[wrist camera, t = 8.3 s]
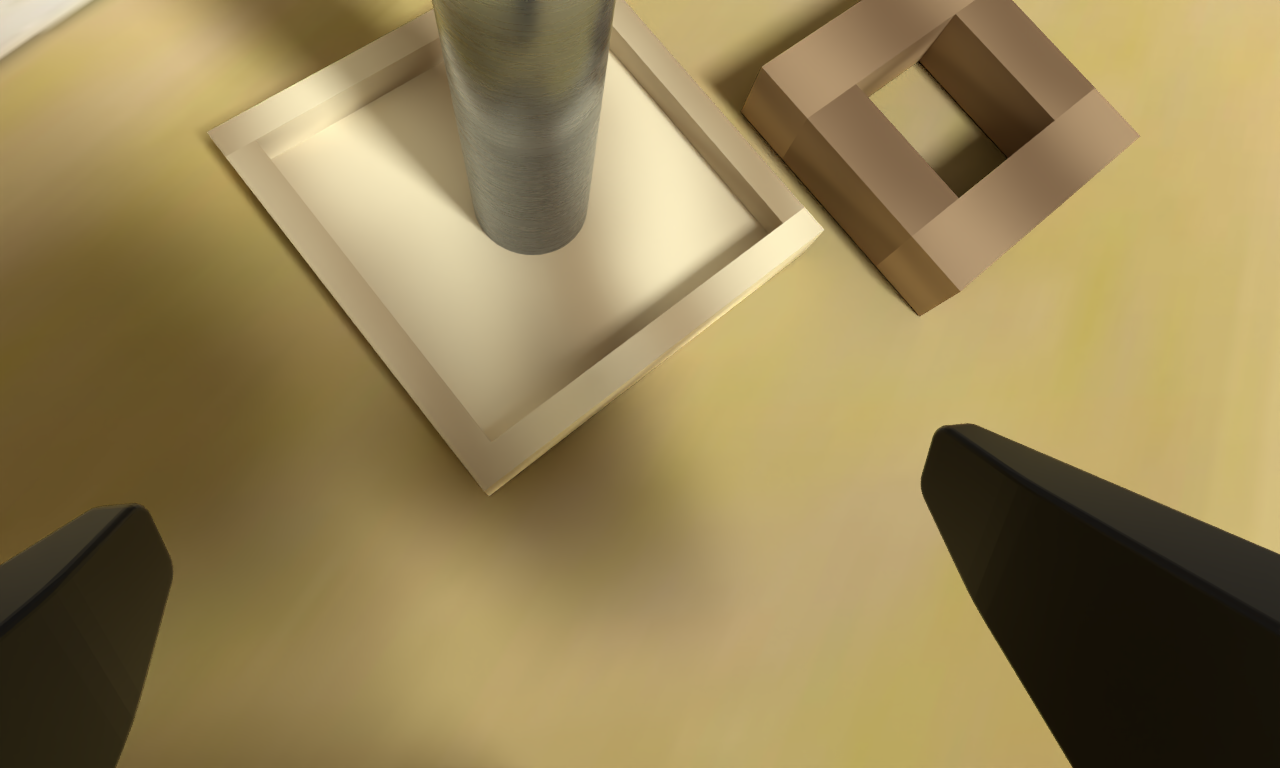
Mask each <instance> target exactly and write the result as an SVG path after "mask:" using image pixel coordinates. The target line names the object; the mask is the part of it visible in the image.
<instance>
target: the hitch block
mask: <svg viewBox="0 0 1280 768" xmlns="http://www.w3.org/2000/svg"><path fill="white" fill-rule="evenodd" d="M918 61H920V62H921V63H922V65H923V66H924V67H925V68H926V69H927V70H928V71H929V72H930V73H931V74H932V75H933V77H934V78H935V79H936V80H937V81H938V82H939V83H940V84H941V85H942V86H943V88H944V89H945V90H946V91H947V92H948V93H949V94H950V95H951V96H952V97H953V98H954V100H955V101H956V102H957V103H958V104H959V105H960V106H961V107H962V108H963V109H964V110H965V112H966V113H967V114H968V115H969V116H970V117H971V118H972V119H973V120H974V121H975V122H976V124H977V125H978V126H979V127H980V128H981V129H982V130H983V131H984V132H985V133H986V134H987V136H988V137H989V138H990V139H991V140H992V141H993V142H994V143H995V144H996V145H997V146H998V148H999V149H1000V150H1001V151H1002V152H1003V153H1004V154H1005V155H1006V156H1007V157H1008V159H1007V160H1005V161H1004V162H1003V163H1002V164H1001V165H999V166H998V167H997V168H996V169H994V170H993V171H992V172H991V173H989V174H988V175H987V176H986V177H984V178H983V179H982V180H981V181H980V182H978V183H977V184H976V185H975V186H973V187H972V188H971V189H970V190H968V191H967V192H966V193H965V194H963V195H962V196H961V197H960V198H958V197H957V196H956V194H955V193H954V192H953V191H952V190H951V189H950V188H949V187H948V186H947V184H946V183H945V182H944V181H943V180H942V179H941V178H940V177H939V176H938V174H937V173H936V172H935V171H934V170H933V169H932V168H931V167H930V166H929V164H928V163H927V162H926V161H925V160H924V159H923V158H922V157H921V156H920V154H919V153H918V152H917V151H916V150H915V149H914V148H913V147H912V146H911V144H910V143H909V142H908V141H907V140H906V139H905V138H904V137H903V136H902V134H901V133H900V132H899V131H898V130H897V129H896V128H895V127H894V126H893V124H892V123H891V122H890V121H889V120H888V119H887V118H886V117H885V116H884V114H883V113H882V112H881V111H880V110H879V109H878V108H877V107H876V106H875V104H874V103H873V102H872V101H871V100H870V99H869V98H868V97H869V96H871V95H872V94H874V93H875V92H876V91H878V90H879V89H881V88H882V87H883V86H885V85H886V84H887V83H889V82H890V81H892V80H893V79H894V78H896V77H897V76H899V75H900V74H901V73H903V72H904V71H906V70H907V69H908V68H910V67H911V66H913V65H914V64H915V63H917V62H918ZM741 113H742V114H743V115H744V116H745V117H746V118H747V119H748V121H749V122H750V123H751V124H752V125H753V126H754V127H755V129H756V130H757V131H758V132H759V133H760V134H761V135H762V137H763V138H764V139H765V140H766V141H767V142H768V143H769V145H770V146H771V147H772V148H773V149H774V150H775V151H776V153H777V154H778V155H779V156H780V157H781V158H782V159H783V161H784V162H785V163H786V164H787V165H788V166H789V167H790V169H791V170H792V171H793V172H794V173H795V174H796V175H797V177H798V178H799V179H800V180H801V181H802V182H803V183H804V185H805V186H806V187H807V188H808V189H809V190H810V191H811V193H812V194H813V195H814V196H815V197H816V198H817V199H818V201H819V202H820V203H821V204H822V205H823V206H824V207H825V209H826V210H827V211H828V212H829V213H830V214H831V215H832V217H833V218H834V219H835V220H836V221H837V222H838V223H839V225H840V226H841V227H842V228H843V229H844V230H845V231H846V233H847V234H848V235H849V236H850V237H851V238H852V240H853V241H854V242H855V243H856V244H857V245H858V246H859V248H860V249H861V250H862V251H863V252H864V253H865V254H866V256H867V257H868V258H869V259H870V260H871V261H872V262H873V264H874V265H875V266H876V267H877V268H878V269H879V270H880V272H881V273H882V274H883V275H884V276H885V277H886V278H887V280H888V281H889V282H890V283H891V284H892V285H893V286H894V288H895V289H896V290H897V291H898V292H899V293H900V294H901V296H902V297H903V298H904V299H905V300H906V301H907V302H908V304H909V305H910V306H911V307H912V308H913V309H914V310H915V312H916V313H917V314H918V315H919V316H921V315H923V314H924V313H926V312H928V311H929V310H931V309H933V308H934V307H936V306H937V305H939V304H941V303H942V302H944V301H946V300H947V299H949V298H951V297H952V296H954V295H955V294H957V293H959V292H960V291H962V290H963V289H964V288H965V287H966V286H967V285H969V284H970V283H971V282H972V281H973V280H974V279H976V278H977V277H978V276H979V275H980V274H981V273H982V272H984V271H985V270H986V269H987V268H988V267H989V266H991V265H992V264H993V263H994V262H995V261H996V260H998V259H999V258H1000V257H1001V256H1002V255H1003V254H1004V253H1006V252H1007V251H1008V250H1009V249H1010V248H1011V247H1013V246H1014V245H1015V244H1016V243H1017V242H1018V241H1020V240H1021V239H1022V238H1023V237H1024V236H1025V235H1027V234H1028V233H1029V232H1030V231H1031V230H1032V229H1033V228H1035V227H1036V226H1037V225H1038V224H1039V223H1040V222H1042V221H1043V220H1044V219H1045V218H1046V217H1047V216H1049V215H1050V214H1051V213H1052V212H1053V211H1054V210H1055V209H1057V208H1058V207H1059V206H1060V205H1061V204H1062V203H1064V202H1065V201H1066V200H1067V199H1068V198H1069V197H1071V196H1072V195H1073V194H1074V193H1075V192H1076V191H1078V190H1079V189H1080V188H1081V187H1082V186H1083V185H1084V184H1086V183H1087V182H1088V181H1089V180H1090V179H1091V178H1093V177H1094V176H1095V175H1096V174H1097V173H1098V172H1100V171H1101V170H1102V169H1103V168H1104V167H1105V166H1107V165H1108V164H1109V163H1110V162H1111V161H1112V160H1113V159H1115V158H1116V157H1117V156H1118V155H1119V154H1120V153H1122V152H1123V151H1124V150H1125V149H1126V148H1127V147H1129V146H1130V145H1131V144H1132V143H1133V142H1134V141H1135V140H1137V139H1138V138H1139V137H1140V135H1139V134H1138V133H1137V132H1136V131H1135V130H1134V129H1133V128H1132V127H1131V126H1130V125H1129V123H1128V122H1127V121H1126V120H1125V119H1124V118H1123V117H1122V116H1121V115H1120V114H1119V113H1118V112H1117V111H1116V110H1115V109H1114V108H1113V107H1112V105H1111V104H1110V103H1109V102H1108V101H1107V100H1106V99H1105V98H1104V97H1103V96H1102V95H1101V94H1100V93H1099V92H1098V91H1097V90H1096V89H1095V87H1094V86H1093V85H1092V84H1091V83H1090V82H1089V81H1088V80H1087V79H1086V78H1085V77H1084V76H1083V75H1082V74H1081V73H1080V72H1079V70H1078V69H1077V68H1076V67H1075V66H1074V65H1073V64H1072V63H1071V62H1070V61H1069V60H1068V59H1067V58H1066V57H1065V56H1064V55H1063V54H1062V52H1061V51H1060V50H1059V49H1058V48H1057V47H1056V46H1055V45H1054V44H1053V43H1052V42H1051V41H1050V40H1049V39H1048V38H1047V37H1046V36H1045V34H1044V33H1043V32H1042V31H1041V30H1040V29H1039V28H1038V27H1037V26H1036V25H1035V24H1034V23H1033V22H1032V21H1031V20H1030V19H1029V18H1028V16H1027V15H1026V14H1025V13H1024V12H1023V11H1022V10H1021V9H1020V8H1019V7H1018V6H1017V5H1016V4H1015V3H1014V2H1013V1H1012V0H861V1H860V2H858V3H857V4H855V5H854V6H852V7H851V8H849V9H848V10H846V11H845V12H843V13H842V14H840V15H839V16H837V17H836V18H834V19H833V20H831V21H830V22H828V23H827V24H825V25H824V26H822V27H821V28H819V29H818V30H816V31H815V32H813V33H812V34H810V35H808V36H807V37H805V38H804V39H802V40H801V41H799V42H798V43H796V44H795V45H793V46H792V47H790V48H789V49H787V50H786V51H784V52H783V53H781V54H780V55H778V56H777V57H775V58H774V59H772V60H771V61H769V62H768V63H766V64H765V65H763V66H762V67H761V69H760V71H759V73H758V75H757V78H756V80H755V82H754V84H753V86H752V89H751V91H750V93H749V95H748V97H747V100H746V102H745V104H744V106H743V108H742V110H741Z"/></svg>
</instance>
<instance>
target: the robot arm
mask: <svg viewBox="0 0 1280 768" xmlns="http://www.w3.org/2000/svg"><path fill="white" fill-rule="evenodd" d="M921 490H922V494H923V497H924V500H925V502H926V504H927V506H928V508H929V510H930V512H931V515H932V517H933V519H934V521H935V523H936V525H937V527H938V529H939V531H940V534H941V536H942V538H943V540H944V542H945V544H946V546H947V548H948V551H949V553H950V555H951V557H952V559H953V561H954V563H955V565H956V568H957V570H958V572H959V574H960V576H961V578H962V580H963V582H964V585H965V586H966V588H967V590H968V592H969V594H970V596H971V598H972V600H973V602H974V604H975V606H976V607H977V609H978V611H979V613H980V614H981V616H982V618H983V620H984V621H985V623H986V625H987V626H988V628H989V630H990V631H991V633H992V635H993V636H994V638H995V640H996V641H997V643H998V645H999V646H1000V648H1001V650H1002V651H1003V653H1004V655H1005V656H1006V658H1007V660H1008V661H1009V663H1010V665H1011V666H1012V668H1013V670H1014V671H1015V673H1016V675H1017V676H1018V678H1019V680H1020V681H1021V683H1022V685H1023V686H1024V688H1025V689H1026V691H1027V693H1028V694H1029V696H1030V698H1031V699H1032V701H1033V703H1034V704H1035V706H1036V708H1037V709H1038V711H1039V713H1040V714H1041V716H1042V718H1043V719H1044V721H1045V723H1046V724H1047V726H1048V728H1049V729H1050V731H1051V733H1052V734H1053V736H1054V738H1055V739H1056V741H1057V743H1058V744H1059V746H1060V748H1061V749H1062V751H1063V753H1064V754H1065V756H1066V758H1067V759H1068V761H1069V763H1070V764H1071V766H1072V768H1280V554H1278V553H1276V552H1273V551H1271V550H1269V549H1266V548H1264V547H1261V546H1259V545H1257V544H1254V543H1252V542H1250V541H1247V540H1245V539H1243V538H1240V537H1238V536H1236V535H1233V534H1231V533H1229V532H1226V531H1224V530H1222V529H1219V528H1217V527H1215V526H1212V525H1210V524H1207V523H1205V522H1203V521H1200V520H1198V519H1196V518H1193V517H1191V516H1189V515H1186V514H1184V513H1182V512H1179V511H1177V510H1175V509H1172V508H1170V507H1168V506H1165V505H1163V504H1160V503H1158V502H1156V501H1153V500H1151V499H1149V498H1146V497H1144V496H1142V495H1139V494H1137V493H1135V492H1132V491H1130V490H1128V489H1125V488H1123V487H1121V486H1118V485H1116V484H1114V483H1111V482H1109V481H1106V480H1104V479H1102V478H1099V477H1097V476H1095V475H1092V474H1090V473H1088V472H1085V471H1083V470H1081V469H1078V468H1076V467H1074V466H1071V465H1069V464H1067V463H1064V462H1062V461H1059V460H1057V459H1055V458H1052V457H1050V456H1048V455H1045V454H1043V453H1041V452H1038V451H1036V450H1034V449H1031V448H1029V447H1027V446H1024V445H1022V444H1020V443H1017V442H1015V441H1013V440H1010V439H1008V438H1005V437H1003V436H1001V435H998V434H996V433H994V432H991V431H989V430H987V429H984V428H982V427H980V426H977V425H974V424H968V423H967V424H956V425H945V426H942V427H940V428H938V429H937V431H936V432H935V433H934V435H933V438H932V442H931V445H930V448H929V452H928V455H927V459H926V462H925V465H924V469H923V472H922V476H921ZM172 579H173V565H172V561H171V558H170V555H169V553H168V551H167V549H166V547H165V544H164V542H163V540H162V538H161V536H160V534H159V532H158V529H157V527H156V525H155V523H154V521H153V519H152V517H151V515H150V513H149V511H148V510H147V509H146V508H145V507H144V506H142V505H140V504H137V503H129V504H118V505H108V506H100V507H96V508H92V509H91V510H89V511H87V512H85V513H84V514H82V515H81V516H79V517H77V518H76V519H74V520H72V521H71V522H69V523H68V524H66V525H64V526H63V527H61V528H60V529H58V530H56V531H55V532H53V533H51V534H50V535H48V536H47V537H45V538H43V539H42V540H40V541H39V542H37V543H35V544H34V545H32V546H31V547H29V548H27V549H26V550H24V551H22V552H21V553H19V554H18V555H16V556H14V557H13V558H11V559H10V560H8V561H6V562H5V563H3V564H2V565H0V768H116V766H117V763H118V760H119V758H120V755H121V753H122V750H123V748H124V745H125V743H126V740H127V737H128V734H129V732H130V729H131V726H132V724H133V721H134V718H135V715H136V711H137V708H138V705H139V702H140V698H141V695H142V691H143V688H144V684H145V680H146V677H147V673H148V669H149V665H150V662H151V658H152V654H153V651H154V647H155V643H156V640H157V636H158V632H159V628H160V625H161V621H162V617H163V614H164V610H165V606H166V603H167V599H168V595H169V592H170V588H171V584H172Z"/></svg>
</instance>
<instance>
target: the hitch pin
mask: <svg viewBox="0 0 1280 768" xmlns="http://www.w3.org/2000/svg"><path fill="white" fill-rule="evenodd" d="M615 2H616V0H432V4H433V9H434V14H435V18H436V23H437V28H438V33H439V38H440V43H441V48H442V53H443V58H444V63H445V68H446V73H447V78H448V83H449V88H450V93H451V98H452V103H453V108H454V113H455V118H456V123H457V128H458V133H459V138H460V143H461V148H462V152H463V157H464V162H465V167H466V172H467V177H468V182H469V187H470V192H471V197H472V202H473V207H474V212H475V216H476V218H477V221H478V223H479V225H480V227H481V228H482V230H483V231H484V232H485V234H486V235H487V236H488V237H489V238H490V239H491V240H492V241H494V242H495V243H496V244H497V245H499V246H501V247H503V248H504V249H507V250H509V251H511V252H515V253H518V254H524V255H541V254H546V253H550V252H553V251H556V250H558V249H560V248H562V247H564V246H565V245H567V244H568V243H569V242H571V241H572V240H573V239H574V238H575V237H576V236H577V234H578V233H579V231H580V230H581V228H582V226H583V224H584V222H585V219H586V216H587V209H588V202H589V194H590V187H591V180H592V172H593V165H594V157H595V150H596V143H597V135H598V128H599V121H600V113H601V106H602V98H603V91H604V84H605V76H606V69H607V61H608V54H609V47H610V39H611V32H612V24H613V17H614V10H615Z"/></svg>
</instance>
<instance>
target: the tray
mask: <svg viewBox="0 0 1280 768" xmlns="http://www.w3.org/2000/svg"><path fill="white" fill-rule="evenodd" d="M207 134H208V135H209V136H210V138H211V139H212V140H213V141H214V143H215V144H216V145H217V147H218V148H219V149H220V150H221V152H222V153H223V154H224V156H225V157H226V158H227V160H228V161H229V162H230V163H231V165H232V166H233V167H234V169H235V170H236V171H237V172H238V174H239V175H240V176H241V178H242V179H243V180H244V182H245V183H246V184H247V185H248V187H249V188H250V189H251V191H252V192H253V193H254V194H255V196H256V197H257V198H258V200H259V201H260V202H261V204H262V205H263V206H264V207H265V209H266V210H267V211H268V213H269V214H270V215H271V216H272V218H273V219H274V220H275V222H276V223H277V224H278V226H279V227H280V228H281V229H282V231H283V232H284V233H285V235H286V236H287V237H288V238H289V240H290V241H291V242H292V244H293V245H294V246H295V248H296V249H297V250H298V251H299V253H300V254H301V255H302V257H303V258H304V259H305V260H306V262H307V263H308V264H309V266H310V267H311V268H312V270H313V271H314V272H315V273H316V275H317V276H318V277H319V279H320V280H321V281H322V282H323V284H324V285H325V286H326V288H327V289H328V290H329V292H330V293H331V294H332V295H333V297H334V298H335V299H336V301H337V302H338V303H339V304H340V306H341V307H342V308H343V310H344V311H345V312H346V314H347V315H348V316H349V317H350V319H351V320H352V321H353V323H354V324H355V325H356V326H357V328H358V329H359V330H360V332H361V333H362V334H363V336H364V337H365V338H366V339H367V341H368V342H369V343H370V345H371V346H372V347H373V348H374V350H375V351H376V352H377V354H378V355H379V356H380V358H381V359H382V360H383V361H384V363H385V364H386V365H387V367H388V368H389V369H390V370H391V372H392V373H393V374H394V376H395V377H396V378H397V380H398V381H399V382H400V383H401V385H402V386H403V387H404V389H405V390H406V391H407V392H408V394H409V395H410V396H411V398H412V399H413V400H414V402H415V403H416V404H417V405H418V407H419V408H420V409H421V411H422V412H423V413H424V414H425V416H426V417H427V418H428V420H429V421H430V422H431V424H432V425H433V426H434V427H435V429H436V430H437V431H438V433H439V434H440V435H441V436H442V438H443V439H444V440H445V442H446V443H447V444H448V446H449V447H450V448H451V449H452V451H453V452H454V453H455V455H456V456H457V457H458V458H459V460H460V461H461V462H462V464H463V465H464V466H465V468H466V469H467V470H468V471H469V473H470V474H471V475H472V477H473V478H474V479H475V480H476V482H477V483H478V484H479V486H480V487H481V488H482V490H483V491H484V492H485V493H486V494H487V495H488V496H490V495H491V494H493V493H494V492H495V491H496V490H498V489H499V488H500V487H502V486H503V485H504V484H506V483H507V482H508V481H509V480H511V479H512V478H513V477H515V476H516V475H517V474H518V473H520V472H521V471H522V470H524V469H525V468H526V467H528V466H529V465H530V464H531V463H533V462H534V461H535V460H537V459H538V458H539V457H540V456H542V455H543V454H544V453H546V452H547V451H548V450H549V449H551V448H552V447H553V446H555V445H556V444H557V443H559V442H560V441H561V440H562V439H564V438H565V437H566V436H568V435H569V434H570V433H571V432H573V431H574V430H575V429H577V428H578V427H579V426H581V425H582V424H583V423H584V422H586V421H587V420H588V419H590V418H591V417H592V416H593V415H595V414H596V413H597V412H599V411H600V410H601V409H603V408H604V407H605V406H606V405H608V404H609V403H610V402H612V401H613V400H614V399H615V398H617V397H618V396H619V395H621V394H622V393H623V392H624V391H626V390H627V389H628V388H630V387H631V386H632V385H634V384H635V383H636V382H637V381H639V380H640V379H641V378H643V377H644V376H645V375H646V374H648V373H649V372H650V371H652V370H653V369H654V368H656V367H657V366H658V365H659V364H661V363H662V362H663V361H665V360H666V359H667V358H668V357H670V356H671V355H672V354H674V353H675V352H676V351H678V350H679V349H680V348H681V347H683V346H684V345H685V344H687V343H688V342H689V341H690V340H692V339H693V338H694V337H696V336H697V335H698V334H699V333H701V332H702V331H703V330H705V329H706V328H707V327H709V326H710V325H711V324H712V323H714V322H715V321H716V320H718V319H719V318H720V317H721V316H723V315H724V314H725V313H727V312H728V311H729V310H731V309H732V308H733V307H734V306H736V305H737V304H738V303H740V302H741V301H742V300H743V299H745V298H746V297H747V296H749V295H750V294H751V293H753V292H754V291H755V290H756V289H758V288H759V287H760V286H762V285H763V284H764V283H765V282H767V281H768V280H769V279H771V278H772V277H773V276H774V275H776V274H777V273H778V272H780V271H781V270H782V269H784V268H785V267H786V266H787V265H789V264H790V263H791V262H793V261H794V260H795V259H796V258H798V257H799V256H800V255H802V254H803V253H804V252H805V251H806V250H807V249H808V247H809V246H810V245H811V244H812V243H813V242H814V241H815V240H816V239H817V237H818V236H819V235H820V234H821V233H822V232H823V231H824V229H823V228H822V227H821V225H820V224H819V223H818V222H817V221H816V220H815V219H814V217H813V216H812V215H811V214H810V213H809V212H808V210H807V209H806V208H805V207H804V206H803V205H802V204H801V202H800V201H799V200H798V199H797V198H796V197H795V196H794V194H793V193H792V192H791V191H790V190H789V189H788V187H787V186H786V185H785V184H784V183H783V182H782V181H781V179H780V178H779V177H778V176H777V175H776V174H775V173H774V171H773V170H772V169H771V168H770V167H769V166H768V165H767V163H766V162H765V161H764V160H763V159H762V158H761V156H760V155H759V154H758V153H757V152H756V151H755V150H754V148H753V147H752V146H751V145H750V144H749V143H748V142H747V140H746V139H745V138H744V137H743V136H742V135H741V134H740V132H739V131H738V130H737V129H736V128H735V127H734V125H733V124H732V123H731V122H730V121H729V120H728V119H727V117H726V116H725V115H724V114H723V113H722V112H721V111H720V109H719V108H718V107H717V106H716V105H715V104H714V103H713V101H712V100H711V99H710V98H709V97H708V96H707V94H706V93H705V92H704V91H703V90H702V89H701V88H700V86H699V85H698V84H697V83H696V82H695V81H694V80H693V78H692V77H691V76H690V75H689V74H688V73H687V71H686V70H685V69H684V68H683V67H682V66H681V65H680V63H679V62H678V61H677V60H676V59H675V58H674V57H673V55H672V54H671V53H670V52H669V51H668V50H667V49H666V47H665V46H664V45H663V44H662V43H661V42H660V40H659V39H658V38H657V37H656V36H655V35H654V34H653V32H652V31H651V30H650V29H649V28H648V27H647V26H646V24H645V23H644V22H643V21H642V20H641V19H640V18H639V16H638V15H637V14H636V13H635V12H634V11H633V9H632V8H631V7H630V6H629V5H628V4H627V3H626V1H625V0H616V2H615V10H614V17H613V24H612V32H611V39H610V47H609V54H608V61H607V69H606V76H605V84H604V91H603V98H602V106H601V113H600V121H599V128H598V135H597V143H596V150H595V157H594V165H593V172H592V180H591V187H590V194H589V202H588V209H587V216H586V219H585V222H584V224H583V226H582V228H581V230H580V231H579V233H578V234H577V236H576V237H575V238H574V239H573V240H572V241H571V242H569V243H568V244H567V245H565V246H564V247H562V248H560V249H558V250H556V251H553V252H550V253H546V254H541V255H524V254H518V253H515V252H511V251H509V250H507V249H504V248H503V247H501V246H499V245H497V244H496V243H495V242H494V241H492V240H491V239H490V238H489V237H488V236H487V235H486V234H485V232H484V231H483V230H482V228H481V227H480V225H479V223H478V221H477V218H476V216H475V212H474V207H473V202H472V197H471V192H470V187H469V182H468V177H467V172H466V167H465V162H464V157H463V152H462V148H461V143H460V138H459V133H458V128H457V123H456V118H455V113H454V108H453V103H452V98H451V93H450V88H449V83H448V78H447V73H446V68H445V63H444V58H443V53H442V48H441V43H440V38H439V33H438V28H437V23H436V18H435V14H434V9H432V10H430V11H428V12H426V13H424V14H423V15H421V16H419V17H417V18H415V19H413V20H412V21H410V22H408V23H406V24H404V25H402V26H401V27H399V28H397V29H395V30H393V31H391V32H390V33H388V34H386V35H384V36H382V37H380V38H378V39H377V40H375V41H373V42H371V43H369V44H367V45H366V46H364V47H362V48H360V49H358V50H356V51H355V52H353V53H351V54H349V55H347V56H345V57H344V58H342V59H340V60H338V61H336V62H334V63H333V64H331V65H329V66H327V67H325V68H323V69H322V70H320V71H318V72H316V73H314V74H312V75H310V76H309V77H307V78H305V79H303V80H301V81H299V82H298V83H296V84H294V85H292V86H290V87H288V88H287V89H285V90H283V91H281V92H279V93H277V94H276V95H274V96H272V97H270V98H268V99H266V100H265V101H263V102H261V103H259V104H257V105H255V106H253V107H252V108H250V109H248V110H246V111H244V112H242V113H241V114H239V115H237V116H235V117H233V118H231V119H230V120H228V121H226V122H224V123H222V124H220V125H219V126H217V127H215V128H213V129H211V130H209V131H208V132H207Z"/></svg>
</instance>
